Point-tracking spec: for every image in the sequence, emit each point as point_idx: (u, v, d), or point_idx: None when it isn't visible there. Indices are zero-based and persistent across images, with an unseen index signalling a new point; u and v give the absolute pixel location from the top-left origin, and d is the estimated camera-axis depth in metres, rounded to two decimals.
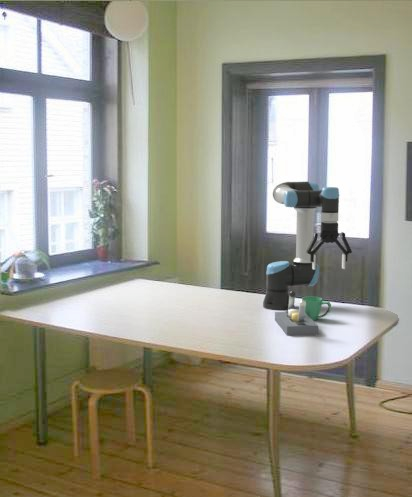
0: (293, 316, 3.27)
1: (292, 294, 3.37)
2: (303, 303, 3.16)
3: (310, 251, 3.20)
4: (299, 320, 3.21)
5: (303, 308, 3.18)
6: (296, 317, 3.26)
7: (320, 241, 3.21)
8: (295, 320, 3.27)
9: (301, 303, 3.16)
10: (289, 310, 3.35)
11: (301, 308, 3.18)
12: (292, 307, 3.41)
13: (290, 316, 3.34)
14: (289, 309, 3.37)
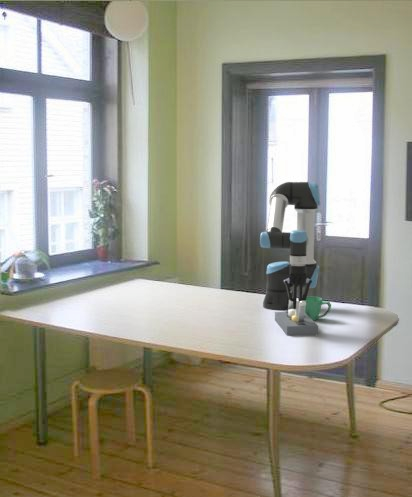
0: (293, 319, 3.27)
1: (292, 294, 3.37)
2: (303, 303, 3.16)
3: None
4: (299, 320, 3.21)
5: (303, 308, 3.18)
6: (296, 320, 3.26)
7: (293, 286, 3.26)
8: None
9: (301, 303, 3.16)
10: (289, 310, 3.35)
11: (301, 308, 3.18)
12: (292, 307, 3.41)
13: (290, 316, 3.34)
14: (289, 309, 3.37)
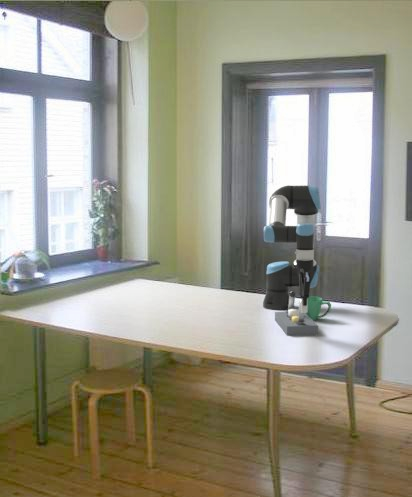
0: (293, 319, 3.27)
1: (292, 294, 3.37)
2: None
3: (300, 292, 3.16)
4: (299, 320, 3.21)
5: None
6: (296, 320, 3.26)
7: None
8: None
9: None
10: (289, 310, 3.35)
11: None
12: (292, 307, 3.41)
13: (290, 316, 3.34)
14: (289, 309, 3.37)
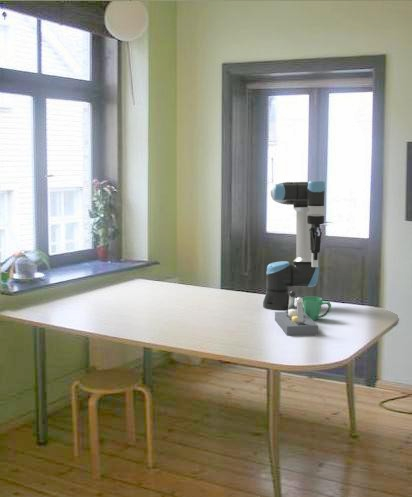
0: (293, 319, 3.27)
1: (292, 294, 3.37)
2: (300, 298, 3.22)
3: (311, 247, 3.29)
4: (299, 319, 3.21)
5: (301, 305, 3.22)
6: (296, 320, 3.26)
7: None
8: None
9: (298, 298, 3.22)
10: (289, 310, 3.35)
11: (299, 305, 3.22)
12: (292, 307, 3.41)
13: (290, 316, 3.34)
14: (289, 309, 3.37)
